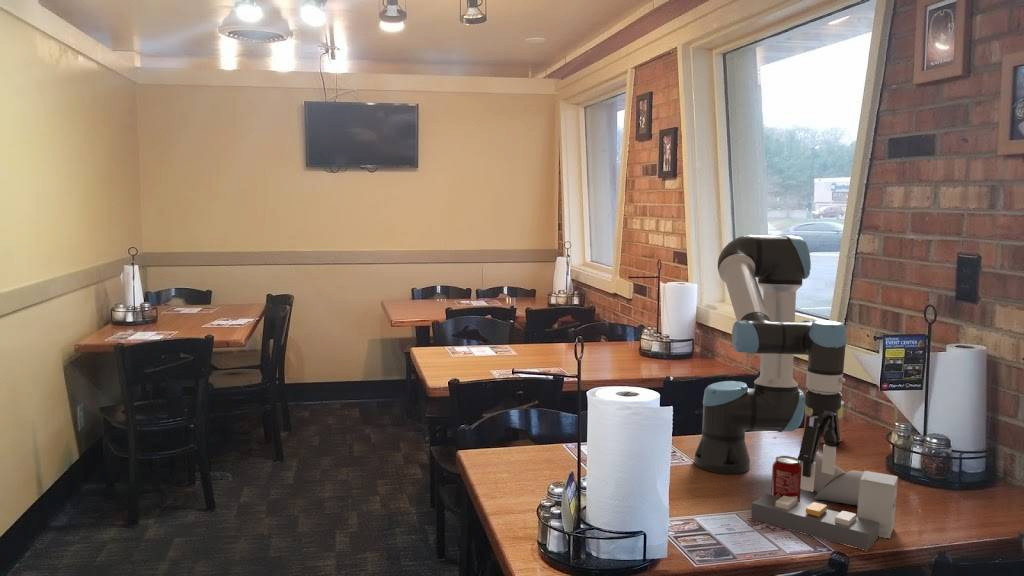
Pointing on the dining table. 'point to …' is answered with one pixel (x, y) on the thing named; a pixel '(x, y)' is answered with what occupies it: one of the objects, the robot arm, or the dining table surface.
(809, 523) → the button panel
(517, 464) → the dining table surface
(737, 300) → the robot arm
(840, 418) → the canned food
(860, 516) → the supplement box
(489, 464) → the dining table surface
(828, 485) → the l-shaped cylinder
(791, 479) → the soda can
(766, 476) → the dining table surface
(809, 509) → the paddle mid
